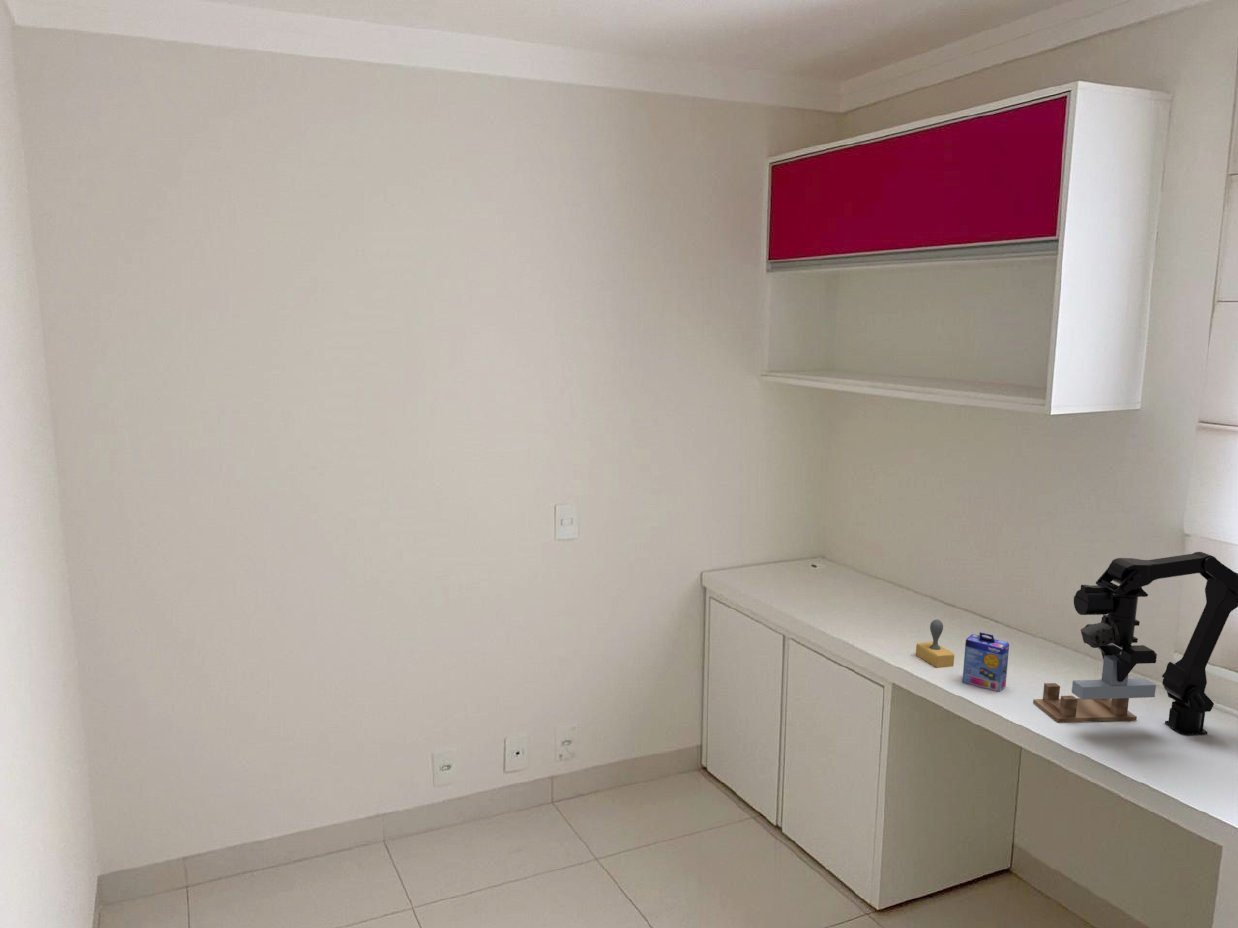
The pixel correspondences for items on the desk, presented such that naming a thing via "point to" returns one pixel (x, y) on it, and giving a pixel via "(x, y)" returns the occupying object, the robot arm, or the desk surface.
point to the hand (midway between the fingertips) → (1114, 678)
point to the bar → (1112, 685)
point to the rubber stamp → (935, 648)
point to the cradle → (1082, 707)
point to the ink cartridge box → (985, 662)
